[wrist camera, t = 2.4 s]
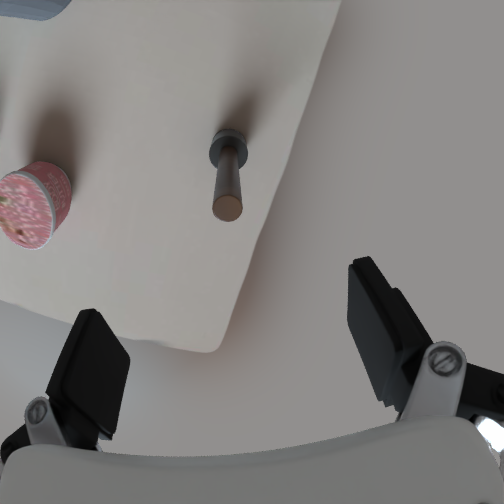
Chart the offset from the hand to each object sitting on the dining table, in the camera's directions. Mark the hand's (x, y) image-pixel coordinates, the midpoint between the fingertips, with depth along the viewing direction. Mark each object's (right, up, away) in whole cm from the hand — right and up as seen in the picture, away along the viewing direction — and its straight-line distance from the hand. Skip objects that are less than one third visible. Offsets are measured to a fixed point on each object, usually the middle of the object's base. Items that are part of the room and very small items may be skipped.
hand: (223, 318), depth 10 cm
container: (-28, +11, +24) cm, 38 cm away
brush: (-2, +15, +23) cm, 28 cm away
